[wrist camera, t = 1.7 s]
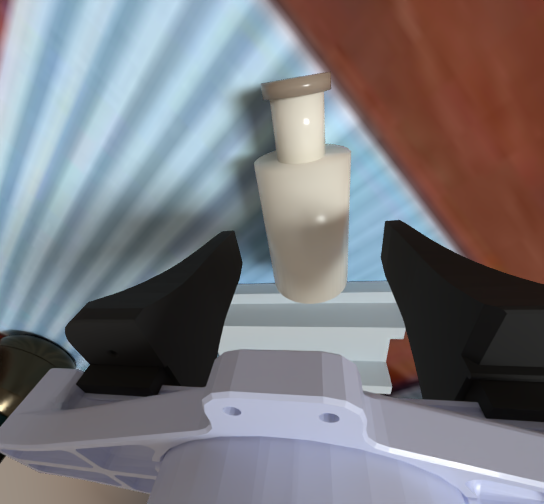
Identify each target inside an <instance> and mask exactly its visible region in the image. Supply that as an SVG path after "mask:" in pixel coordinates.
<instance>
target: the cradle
mask: <svg viewBox="0 0 544 504" xmlns="http://www.w3.org/2000/svg"><path fill="white" fill-rule="evenodd" d="M405 329H406V328H405V324H404V321H403V319H402V316H401V313H400V310H399V308H398V306H397V303H396V301H395V298H394V296H393V293H392V291H391V289H390V286H389V284H388V281H364V282H347V284H346V286H345V288H344V290H343V291H342V292H341V293H340V294H339V295H338V296H336V297H335V298H333V299H331V300H328V301H325V302H322V303H315V304H304V303H298V302H294V301H292V300H289V299H287V298H286V297H284V296H283V295H282V294H281V293H280V292H279V291H278V289H277V287H276V284H275V283H273V284H238V285H237V288H236V290H235V293H234V296H233V299H232V302H231V304H230V307H229V310H228V313H227V316H226V319H225V322H224V327H223V331H222V335H221V340H220V344H219V349H218V353H219V355H221V354H223V353H224V352H227V351H233V350H239V349H255V350H297V351H324V352H329V353H335V354H340V355H341V356H343V357H345V358H346V359H348V360H350V361H351V362H353V363H354V364H356V366H357V368H358V371H359V373H360V376H361V382H362V389H363V391H368V392H372V393H379V394H391V390H392V384H391V380H390V376H389V372H388V368H387V364H386V358H387V353H388V347H389V342H390V339H403V338H404V333H405Z"/></svg>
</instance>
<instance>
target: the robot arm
mask: <svg viewBox="0 0 544 504" xmlns="http://www.w3.org/2000/svg"><path fill="white" fill-rule="evenodd" d="M381 260H382V264H383V269H384V273H385V276H386V279H387V281H388V284H389V286H390V289H391V291H392V293H393V296H394V298H395V301H396V303H397V306H398V308H399V310H400V313H401V316H402V318H403V321H404V324H405V328H406V332H407V335H408V339H409V342H410V346H411V350H412V354H413V358H414V362H415V366H416V371H417V375H418V379H419V383H420V388H421V393H422V397H423V399H408V398H393V397H389V396H385V395H380V394H376V393H372V392H368V391H363V389H362V382H361V376H360V373H359V371H358V368H357V366H356V364H354V363H353V362H351V361H350V360H348V359H346V358H345V357H343V356H341V355H340V354H335V353H329V352H324V351H297V350H255V349H239V350H233V351H227V352H224V353H223V354H221V355H220V356H219V357H218V358H217V354H218V349H219V344H220V340H221V335H222V331H223V327H224V322H225V319H226V316H227V313H228V310H229V307H230V304H231V302H232V299H233V296H234V293H235V290H236V288H237V285H238V282H239V279H240V274H241V269H242V259H241V255H240V251H239V247H238V243H237V240H236V236H235V232H234V231H223V232H221V233H219V234H218V235H217V236H215V237H214V238H213V239H211V240H210V241H209V242H207V243H206V244H205V245H204V246H202V247H201V248H200V249H198V250H197V251H196V252H194V253H193V254H191V255H190V256H189V257H187V258H186V259H184V260H183V261H182V262H180V263H178V264H177V265H175V266H174V267H172V268H170V269H169V270H167V271H165V272H163V273H161V274H159V275H157V276H155V277H153V278H151V279H149V280H147V281H145V282H143V283H141V284H138V285H136V286H134V287H131V288H129V289H126V290H124V291H121V292H118V293H116V294H113V295H109V296H106V297H103V298H100V299H97V300H94V301H91V302H88V303H87V304H86V305H85V306H84V307H83V308H82V309H81V310H80V311H79V313H78V314H77V315H76V316H75V317H74V318H73V319H72V320H71V321H70V322H69V323H68V324H67V326H66V327H65V334H66V337H67V339H68V341H69V342H70V344H71V345H72V346H73V347H74V348H75V349H76V350H77V351H78V352H79V353H80V354H81V355H82V357H83V358H84V359H85V360H86V361H87V362H88V363H89V364H90V365H89V367H88V368H87V369H86V371H85V372H83V371H80V370H77V369H65V368H52V369H50V370H49V371H48V372H47V373H46V375H45V376H44V377H43V378H42V379H41V380H40V381H39V383H38V384H37V385H36V386H35V387H34V388H33V390H32V391H31V392H30V393H29V394H28V395H27V396H26V398H25V399H24V400H23V401H22V402H21V403H20V405H19V406H18V407H17V408H16V409H15V410H14V411H13V413H12V414H11V415H10V416H9V417H8V418H7V420H6V421H5V422H4V423H3V424H2V425H1V427H0V453H2V454H4V455H6V456H8V457H10V458H12V459H14V460H15V461H17V462H20V463H21V464H23V465H25V466H27V467H29V468H31V469H33V470H35V471H37V472H40V473H45V474H52V475H59V476H65V477H71V478H76V479H82V480H87V481H92V482H97V483H101V484H106V485H110V486H115V487H120V488H124V489H129V490H133V491H138V492H142V493H147V494H150V496H149V499H148V502H147V504H544V284H540V283H536V282H533V281H529V280H526V279H522V278H519V277H516V276H513V275H509V274H506V273H503V272H501V271H498V270H495V269H492V268H489V267H487V266H484V265H482V264H479V263H477V262H474V261H472V260H470V259H467V258H465V257H463V256H461V255H459V254H457V253H455V252H453V251H451V250H449V249H447V248H445V247H443V246H441V245H440V244H438V243H436V242H434V241H433V240H431V239H429V238H428V237H426V236H424V235H423V234H421V233H420V232H418V231H417V230H415V229H414V228H412V227H410V226H409V225H407V224H406V223H404V222H402V221H400V220H394V221H385V228H384V236H383V244H382V252H381Z"/></svg>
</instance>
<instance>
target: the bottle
mask: <svg viewBox="0 0 544 504" xmlns="http://www.w3.org/2000/svg"><path fill="white" fill-rule="evenodd" d="M330 89H331V72H326V73H319V74H312V75H306V76H300V77H294V78H289V79H283V80H277V81H272V82H267V83H262V84H261V90H262V97H263V100H270V106H271V114H272V122H273V129H274V137H275V145H276V151H273V152H270V153H267V154H265V155H263V156H261V157H259V158H258V159H257V160H256V161H255V162H254V167H255V173H256V178H257V184H258V190H259V195H260V201H261V206H262V212H263V217H264V223H265V229H266V234H267V240H268V245H269V251H270V256H271V262H272V268H273V273H274V279H275V284H276V287H277V289H278V291H279V292H280V293H281V294H282V295H283V296H284V297H286V298H287V299H289V300H292V301H294V302H298V303H304V304H315V303H322V302H325V301H328V300H331V299H333V298H335V297H336V296H338V295H339V294H340V293H341V292H342V291H343V290H344V288H345V286H346V284H347V269H348V235H349V201H350V167H351V151H350V150H349V149H348V148H347V147H344V146H340V145H334V144H325V117H324V91H327V90H330Z"/></svg>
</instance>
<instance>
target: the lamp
mask: <svg viewBox="0 0 544 504" xmlns="http://www.w3.org/2000/svg"><path fill="white" fill-rule="evenodd" d="M52 368H65V369H75V364H74V362H73V360H72V358H71V357H70V356H69V355H68V354H67V353H66V352H65V351H64V350H62V349H61V348H60V347H58V346H56V345H55V344H53V343H51V342H49V341H46V340H44V339H41V338H38V337H35V336H30V335H21V334H19V335H10V336H6V337H3V338H1V339H0V427H1V425H2V424H3V423H4V422H5V421H6V420H7V418H8V417H9V416H10V415H11V414H12V413H13V411H14V410H15V409H16V408H17V407H18V406H19V405H20V403H21V402H22V401H23V400H24V399H25V398H26V396H27V395H28V394H29V393H30V392H31V391H32V390H33V388H34V387H35V386H36V385H37V384H38V383H39V381H40V380H41V379H42V378H43V377H44V376H45V375H46V373H47V372H48V371H49V370H50V369H52ZM5 457H6V455H4V454H2V453H0V463H1V462H2V461H3V459H4V458H5Z"/></svg>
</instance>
